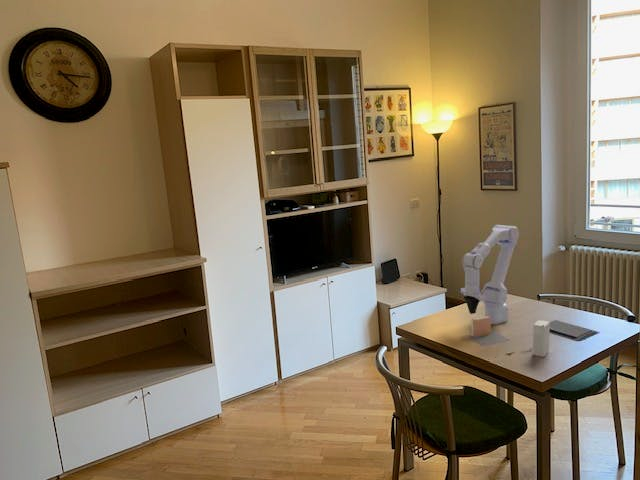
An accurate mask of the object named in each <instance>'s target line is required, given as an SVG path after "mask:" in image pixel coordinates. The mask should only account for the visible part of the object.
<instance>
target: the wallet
mask: <svg viewBox="0 0 640 480" xmlns="http://www.w3.org/2000/svg"><path fill="white" fill-rule="evenodd" d="M549 322H550V329H549V334H552V335H556V336H558V337H562V338H565V339H569V340H572V341H575V342H581V341H584V340H586V339H588V338H590V337H593V336H595V335H598V334H600V331H597V330H594V329H590V328H586V327H583V326H580V325H575V324H573V323H570V322H569V323H568V322H565V321H562V320H557V319H554V320H552V321H549Z"/></svg>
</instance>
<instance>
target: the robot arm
mask: <svg viewBox="0 0 640 480" xmlns="http://www.w3.org/2000/svg"><path fill="white" fill-rule="evenodd" d="M519 237H520V231H519V228H518V227H517V226H516V225H505V224H504V225H501V224H496V225H494V226H493V227H492V229H491V233H490V235H489V236H488V237H487V238H486V239H485V241H484V242H479V243H477V245H476V246H475V247H474V248H473V249H472V250H471V251H470V252H466V254H464V255H463V256H462V259H461V264H462V267H463V271H464V273H465V274H464V287H461V288H460V293H461V294H462V295H464V297H463V299H464V301H465V304H466V305H467V308H468V313H469V314H470V315H473V314H476V312H477V309H478V305H479V304H480V302H482V303H483V305H484V317H487V316H489V317H491V325H498V324H499V325H500V324H502V323H506V322H509V307H508V305H507V304H506V302H507V298H508V297H507V295H508V289H507V288H506V286H505V285H504V283H505V280H506V276H507V273H508V270H509V266H510V263H511V260H512V258H513V257H512V256H513V253H514V249H515V248H516V247H517V244H518V240H519ZM496 244H497V245H499V246H500V250H499V253H498V257H497V261H496V262H495V267H494V270H493V273H492V277H491V280H490V281H489V282H486V283H485V284H484V286H483V288H482V290H480V268H481V267H482V266H483V262H484V260H485V258H487V257H488V255H489V254H490V253H491V249H492V248H493V247H494V246H495V245H496Z"/></svg>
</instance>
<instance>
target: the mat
mask: <svg viewBox="0 0 640 480" xmlns="http://www.w3.org/2000/svg"><path fill="white" fill-rule="evenodd" d="M465 338H468V339H470V340H471V341H473V342H475V343H476V344H478V345H480V346H481V347H484V346H489V345H495V344H499V343H503V342H504V343H505V342H509V341H511V339H509V338H507V337H505V336H503V335H501V334H499V332H498V333H497V332H495V331H494V330H492V329H491V334H487V335H482V336H477V337H473V336H472V333H471V334H466V335H465Z"/></svg>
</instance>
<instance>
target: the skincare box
mask: <svg viewBox="0 0 640 480" xmlns="http://www.w3.org/2000/svg"><path fill="white" fill-rule="evenodd" d="M550 322H551V321H548V320H547V321H546V320H537V321H536V322H535V323H534V324H533V332H532V355H533V356H535V357H536V356H537V357H541V358H542V357H543V358H544V357H545V356H546V355H547V354H548V353H549V350H550V349H549V348H550V333H549V329H550Z"/></svg>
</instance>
